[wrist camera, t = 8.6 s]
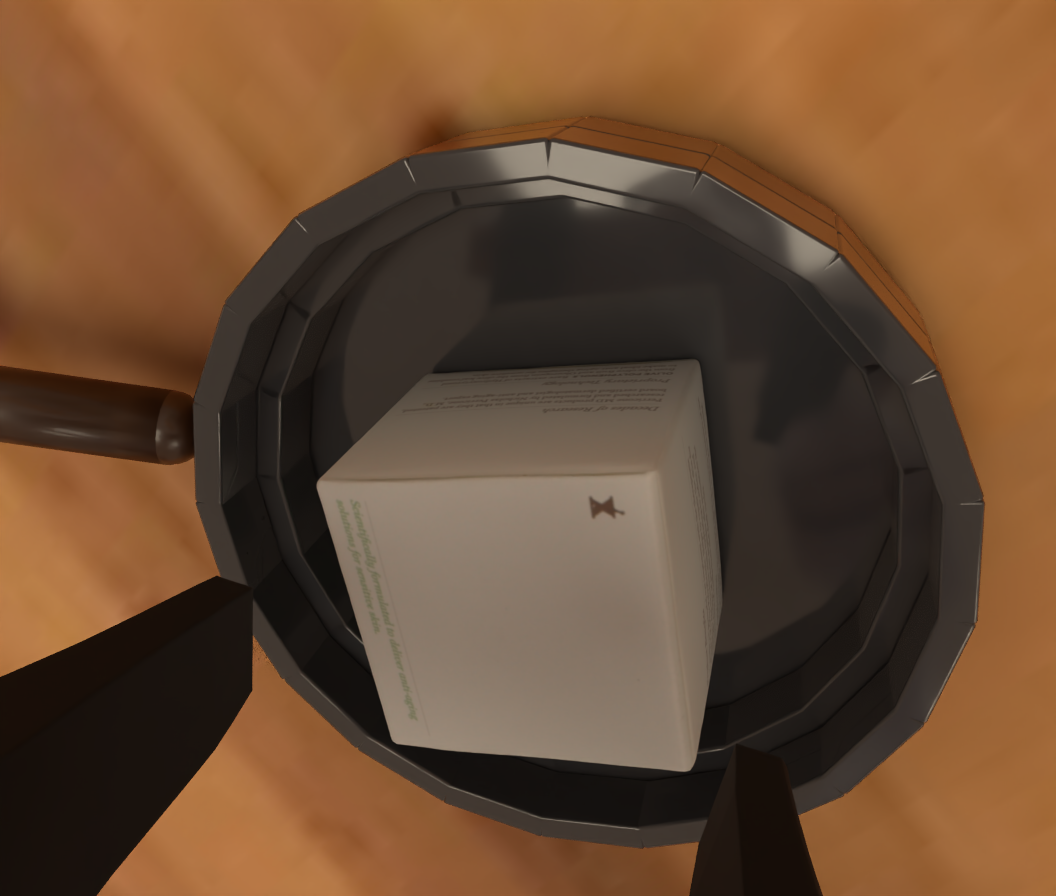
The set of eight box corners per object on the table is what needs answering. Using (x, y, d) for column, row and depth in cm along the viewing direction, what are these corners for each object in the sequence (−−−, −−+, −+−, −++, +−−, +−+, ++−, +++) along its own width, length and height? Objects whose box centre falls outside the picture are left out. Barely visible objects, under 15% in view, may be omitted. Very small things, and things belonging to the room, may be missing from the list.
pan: (1093, 214, 14) (1159, 266, 12) (819, 813, 21) (820, 935, 18) (283, 48, 17) (179, 59, 14) (272, 634, 24) (201, 718, 21)
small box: (419, 367, 18) (302, 478, 14) (705, 348, 16) (669, 470, 12) (472, 601, 21) (384, 758, 16) (728, 608, 19) (704, 785, 15)
